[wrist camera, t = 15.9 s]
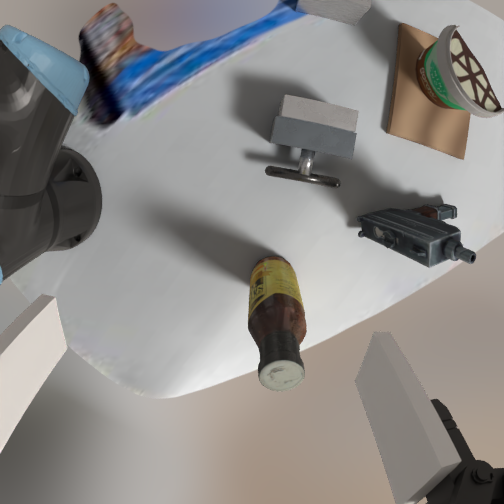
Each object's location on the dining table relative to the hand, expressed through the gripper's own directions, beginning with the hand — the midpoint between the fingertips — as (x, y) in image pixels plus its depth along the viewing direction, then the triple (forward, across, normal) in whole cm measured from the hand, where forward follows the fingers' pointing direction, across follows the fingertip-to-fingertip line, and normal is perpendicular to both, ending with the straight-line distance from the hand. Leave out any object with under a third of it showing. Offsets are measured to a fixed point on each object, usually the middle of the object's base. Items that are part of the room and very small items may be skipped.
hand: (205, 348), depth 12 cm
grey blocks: (+30, +8, +17) cm, 36 cm away
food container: (+29, +24, +20) cm, 43 cm away
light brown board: (+30, +25, +20) cm, 44 cm away
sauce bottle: (+30, +6, -11) cm, 33 cm away
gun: (+30, +24, +1) cm, 38 cm away
